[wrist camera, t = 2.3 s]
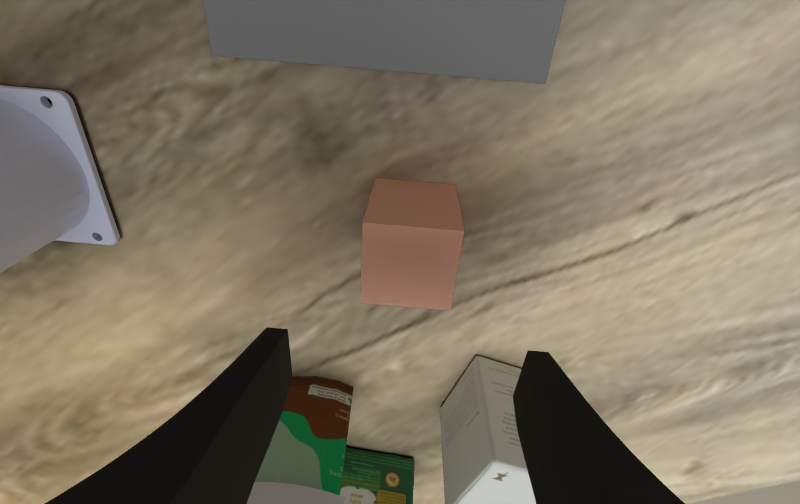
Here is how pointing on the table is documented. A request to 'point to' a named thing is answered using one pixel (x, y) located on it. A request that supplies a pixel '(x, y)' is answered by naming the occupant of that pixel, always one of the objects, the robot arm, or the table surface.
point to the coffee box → (376, 478)
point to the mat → (393, 34)
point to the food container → (307, 446)
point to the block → (411, 244)
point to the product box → (483, 438)
